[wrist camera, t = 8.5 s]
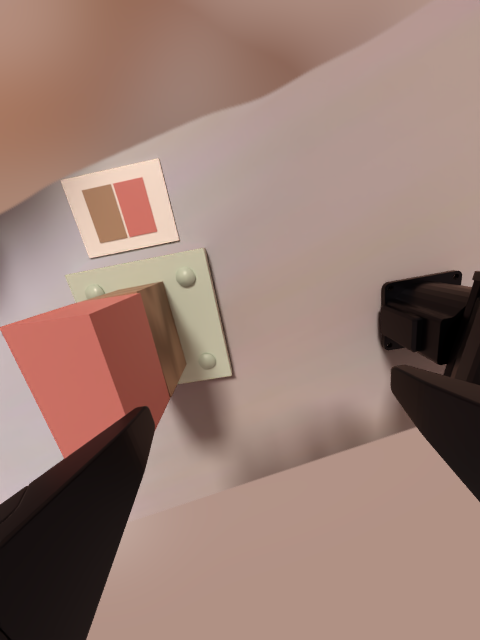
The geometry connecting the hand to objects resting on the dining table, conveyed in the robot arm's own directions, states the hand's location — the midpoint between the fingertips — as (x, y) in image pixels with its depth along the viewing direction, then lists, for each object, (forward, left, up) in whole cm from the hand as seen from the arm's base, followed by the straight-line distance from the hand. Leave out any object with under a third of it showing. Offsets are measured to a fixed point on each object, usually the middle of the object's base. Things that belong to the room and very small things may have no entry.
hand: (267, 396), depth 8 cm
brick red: (+9, 0, -7) cm, 11 cm away
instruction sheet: (+9, -10, -13) cm, 19 cm away
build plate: (+9, 0, -13) cm, 16 cm away
